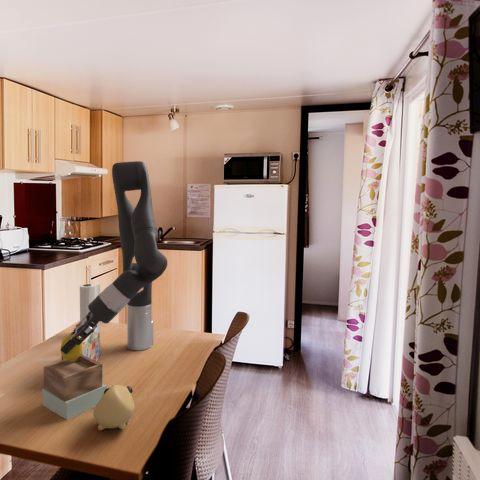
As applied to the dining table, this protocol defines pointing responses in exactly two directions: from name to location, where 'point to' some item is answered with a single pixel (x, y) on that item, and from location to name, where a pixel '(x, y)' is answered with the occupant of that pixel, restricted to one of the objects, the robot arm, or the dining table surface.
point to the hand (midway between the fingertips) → (64, 347)
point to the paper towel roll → (88, 300)
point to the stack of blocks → (91, 346)
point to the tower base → (72, 402)
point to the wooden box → (72, 377)
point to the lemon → (75, 351)
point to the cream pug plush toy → (114, 407)
